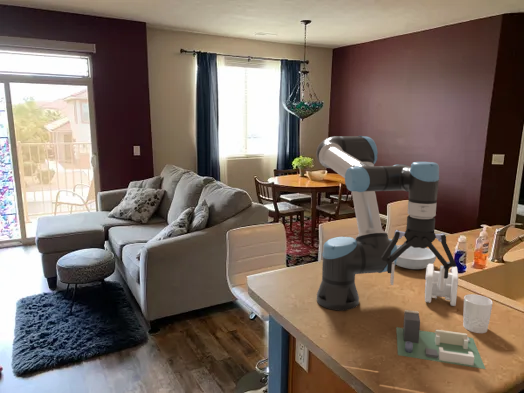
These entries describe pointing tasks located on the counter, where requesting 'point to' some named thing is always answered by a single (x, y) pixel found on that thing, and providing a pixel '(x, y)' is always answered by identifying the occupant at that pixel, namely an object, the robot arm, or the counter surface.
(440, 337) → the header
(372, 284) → the counter surface
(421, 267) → the serving bowl
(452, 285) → the cable organizer
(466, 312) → the white cup
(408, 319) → the plug
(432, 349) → the board
